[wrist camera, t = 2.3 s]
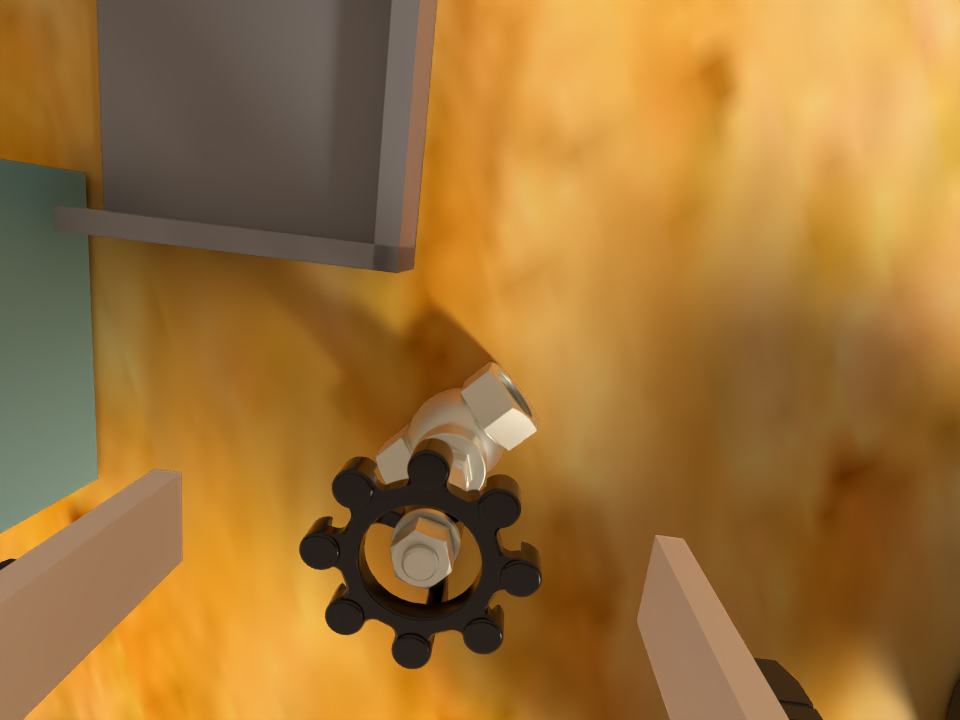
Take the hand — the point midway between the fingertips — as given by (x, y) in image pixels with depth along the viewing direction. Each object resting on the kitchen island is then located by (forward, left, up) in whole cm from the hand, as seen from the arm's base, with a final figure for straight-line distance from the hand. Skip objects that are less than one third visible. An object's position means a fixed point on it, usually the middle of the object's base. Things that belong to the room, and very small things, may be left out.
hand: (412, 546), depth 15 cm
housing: (+11, -15, -12) cm, 22 cm away
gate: (+19, -2, -12) cm, 22 cm away
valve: (0, 0, -12) cm, 12 cm away
